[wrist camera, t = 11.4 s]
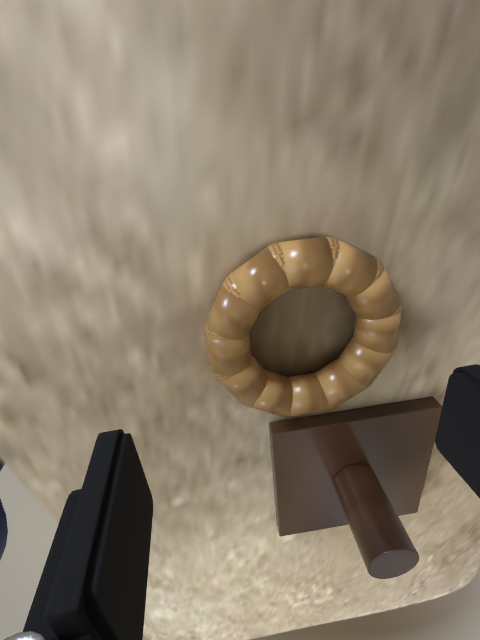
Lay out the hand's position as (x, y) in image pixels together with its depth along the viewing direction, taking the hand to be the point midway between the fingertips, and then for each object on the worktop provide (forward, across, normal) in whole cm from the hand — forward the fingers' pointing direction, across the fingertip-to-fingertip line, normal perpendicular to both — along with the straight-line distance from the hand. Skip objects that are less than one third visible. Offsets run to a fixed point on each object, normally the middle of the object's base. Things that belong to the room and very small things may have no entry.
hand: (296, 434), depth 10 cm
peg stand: (+6, -5, +10) cm, 12 cm away
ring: (+5, -2, 0) cm, 5 cm away
